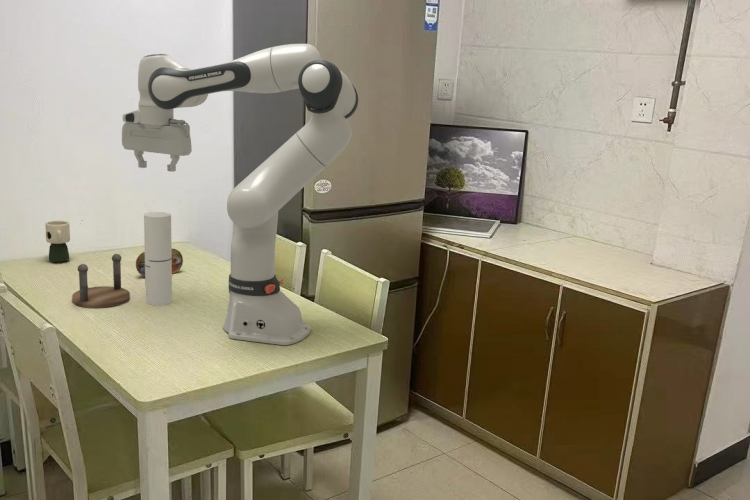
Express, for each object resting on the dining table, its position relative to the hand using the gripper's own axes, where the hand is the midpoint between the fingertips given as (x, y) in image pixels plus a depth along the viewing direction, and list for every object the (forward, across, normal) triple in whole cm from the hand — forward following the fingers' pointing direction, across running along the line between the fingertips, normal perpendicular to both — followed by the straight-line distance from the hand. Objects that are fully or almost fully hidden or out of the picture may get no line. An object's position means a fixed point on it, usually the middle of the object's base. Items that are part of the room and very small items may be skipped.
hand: (156, 169), depth 186 cm
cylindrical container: (+38, 0, 0) cm, 38 cm away
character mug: (+38, +52, -16) cm, 66 cm away
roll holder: (+37, +14, +7) cm, 41 cm away
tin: (+38, +16, -21) cm, 46 cm away
